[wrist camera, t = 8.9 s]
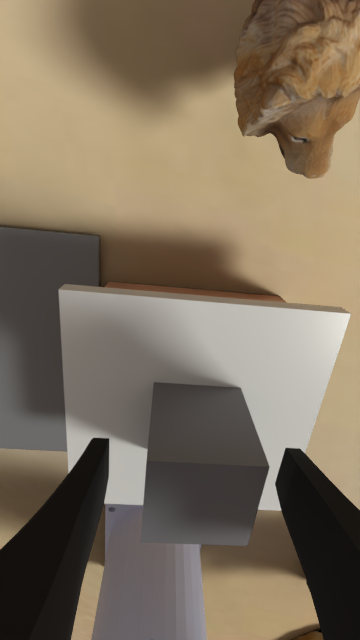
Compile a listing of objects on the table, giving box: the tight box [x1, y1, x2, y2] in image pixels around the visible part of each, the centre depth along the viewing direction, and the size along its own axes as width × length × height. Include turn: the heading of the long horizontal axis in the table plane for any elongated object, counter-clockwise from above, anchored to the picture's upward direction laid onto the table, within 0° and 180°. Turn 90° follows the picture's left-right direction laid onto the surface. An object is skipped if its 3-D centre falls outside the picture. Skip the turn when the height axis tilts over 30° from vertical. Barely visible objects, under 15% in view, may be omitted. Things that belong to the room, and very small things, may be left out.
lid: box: [58, 284, 351, 546], centre depth 13 cm, size 12×12×5 cm
